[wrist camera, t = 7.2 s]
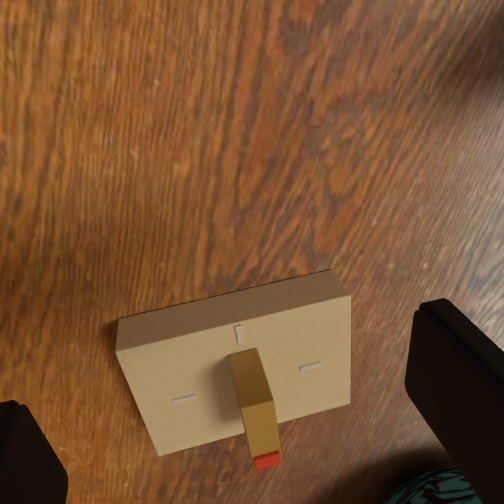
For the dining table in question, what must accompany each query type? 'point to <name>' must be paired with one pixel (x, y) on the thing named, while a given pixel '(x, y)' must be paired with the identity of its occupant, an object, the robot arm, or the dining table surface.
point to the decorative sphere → (434, 489)
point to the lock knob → (256, 409)
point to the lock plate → (231, 342)
